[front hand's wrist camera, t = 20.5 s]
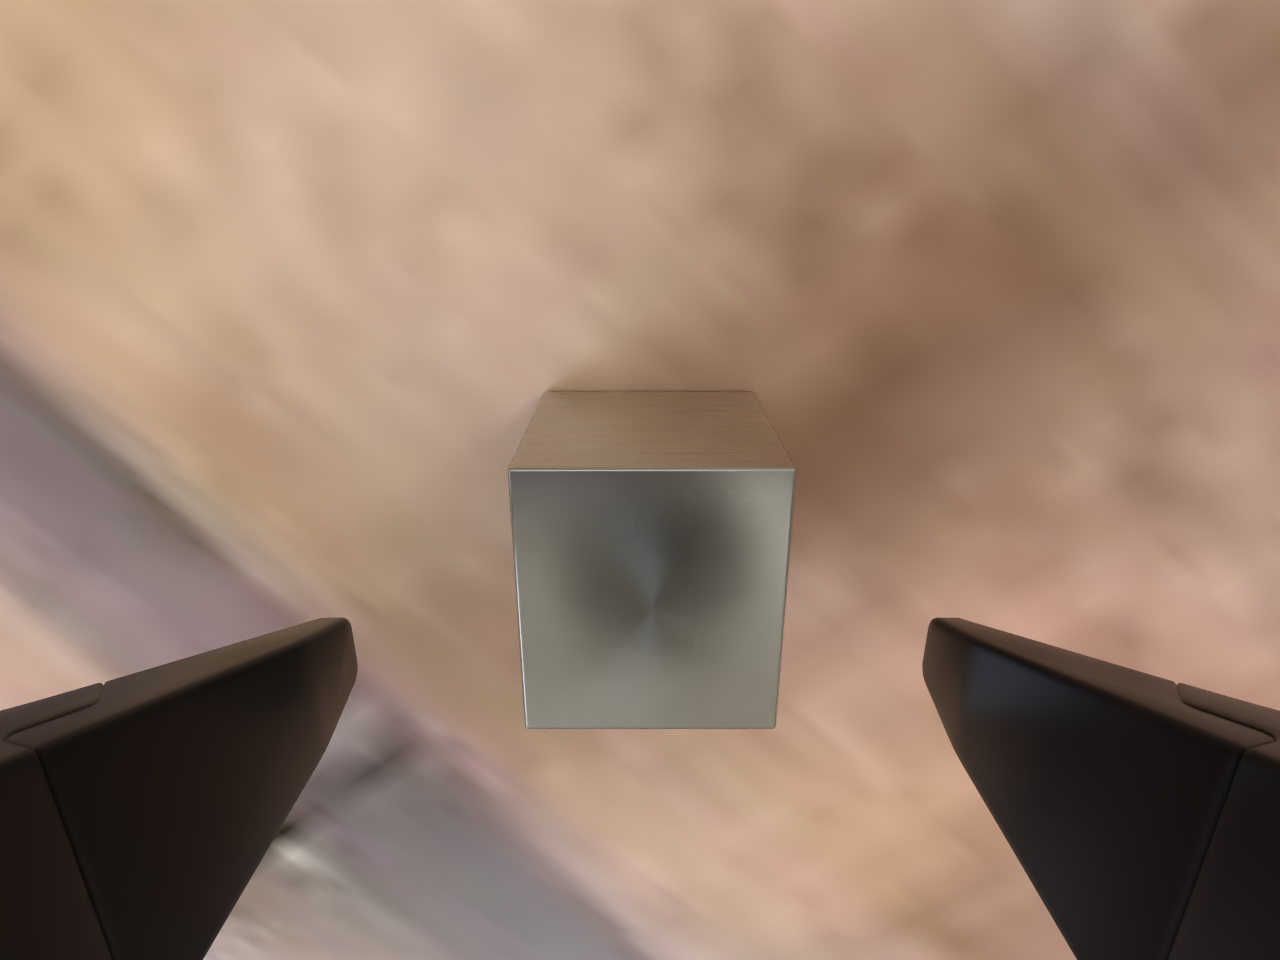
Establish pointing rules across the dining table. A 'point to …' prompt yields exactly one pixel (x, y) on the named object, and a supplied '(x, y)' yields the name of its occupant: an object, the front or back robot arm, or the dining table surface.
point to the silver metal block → (651, 560)
